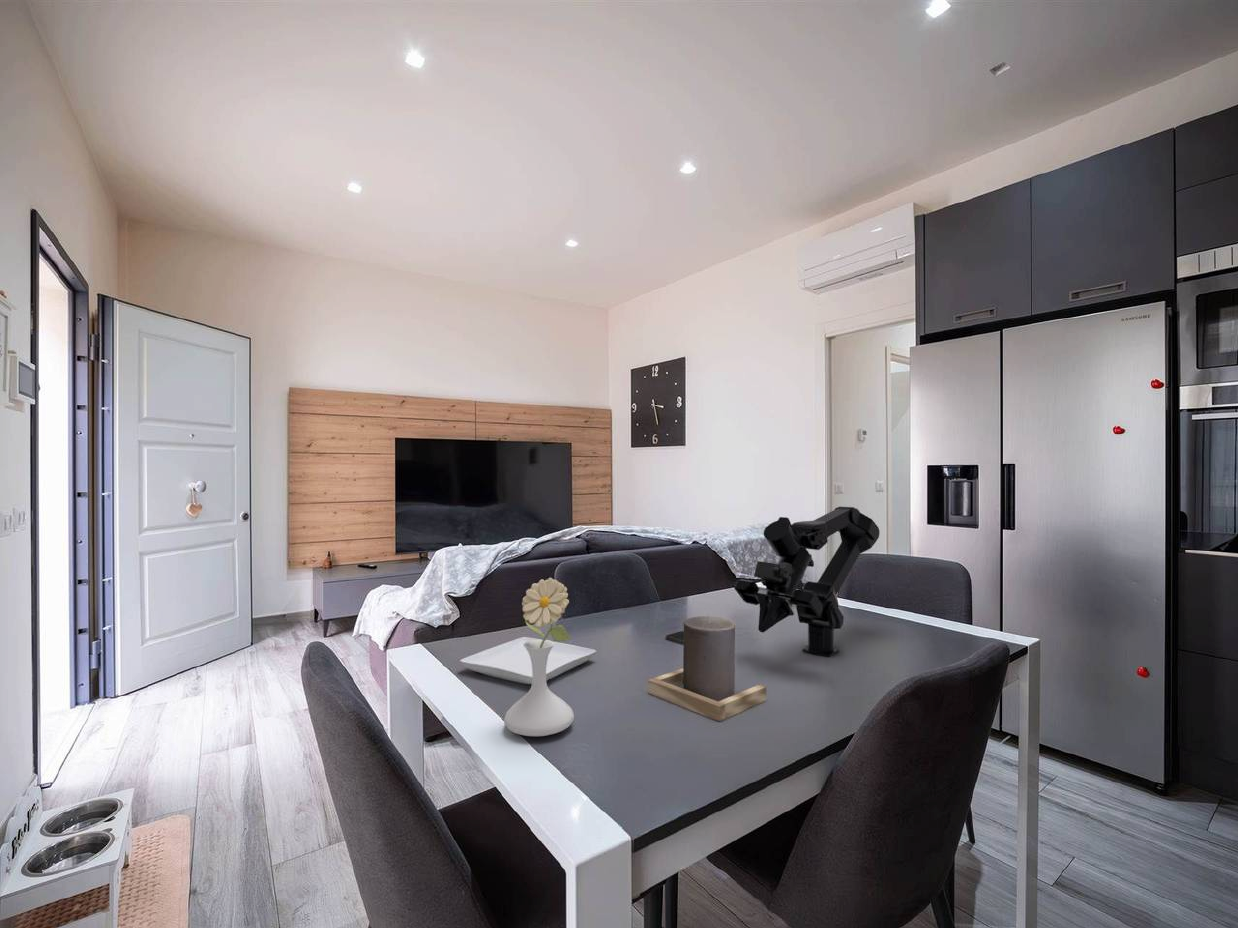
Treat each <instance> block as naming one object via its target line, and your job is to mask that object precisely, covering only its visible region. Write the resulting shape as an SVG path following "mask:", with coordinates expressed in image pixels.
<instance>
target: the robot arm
mask: <svg viewBox="0 0 1238 928" xmlns="http://www.w3.org/2000/svg"><path fill="white" fill-rule="evenodd" d="M837 532H838V533H839V535H840V536H839V537H840V540H841V542H840V545H839V546H838V548H836V549H837V550H836V551H835V552H834V554H833V556H832V558H830V561H829V562H828V564H827V566H826V567H825V569H824V571H823V572H822V574H821V576H820V577H819V579H818V580H817V582H815V581H807V582H806V583H805V584H804V582H803V580H802V579H803V576H804V575H805V572H806V571H807V568H808V567H809V568H810V567H811V568H813V567H814V566H815V562H814V560H813V557H812V554H811V553H809V551H808V550H812V551H820V550H821V549H823V548H824V547H825V545H827V544H828V542H829V541H828V540H829V539H828V537H830V536H832V535H834V534H835V533H837ZM763 537H764V538H765V540H766V541H767V543H768V544H769V546H770V548H771V549H772V551H773V552H774V554H775V555H776V556H778V557H780V559H779V561H778V563H773V562H768V561H767V562H765V561H758V560H757V563H756V566H755V570H754V573H753V576H754V577H756V578H759V579H761V582H760V583H761V584H762V585H763V587H762V586H759V585H758V584H757V583H756V581H754V580H749V579H743V578H740V579H738V580H737V581H736V583H735V585H734V587H733V589H734V590H735V591H736V592H737V594H738V595H739V597H740V598H741V600H742V601H743V602H744V603H746V604H749V605H753V606H757V605H759V616H758V628H757V629H758V631H759V633H763V634H764V633H766V631H768V630H769V629H771V628H772V627H774V626H775V625H776V624H777V623H779V622H781V621H783V620H784V619H786V618H788V617H790V616H794V615H795V612H794V610H795V608H796V613H797V617H798V622H799V623H801V624H807V646H805V647H803V648H802V650H801V651H802V652H803V653H804V652H805V653H808V654H809V653H810V654H813V655H814V654H815V655H819V656H825V657H832V656H834V654H836V653H838V651H840V648H839V647H835V630H836V629H837V630H839V629H840V630H841V629H842V627H843V625H844V621H845V619H844V618H845V617H844V614H843V613H842V611H841V610H840V609H839V607H840V606H839V599H838V596H837V595H838V593H839V591H840V589H841V588H842V586H843V585H844V582H845V581H846V580H847V579H846V578H848V576H849V574H850V572H851V571H852V569H853V566H854V565H855V563H856V562H857V560H858V558H859V556H860V555H861V554H862V553H864V552H866V551H869V550H871V549H872V548H873V546H874V545H875V544H876V542H877V541H878V540H879V537H880V529H879V526H878V525H877V524H876V522H875V521H874V520H873V518H871V517H869V516H867V515H865V514H864V513H861V512H860V510H859V509H858V508H857V507H854V506H837V507H835V508H834V509H833V510H831V511H830V512H827V513H826V514H824V515H822V516H820V517H817V518H816V519H813V520H806V521H805V520H803V521H796V522H793V523H791V520H790V518H789V517H783V516H780V517H778V519H777V520H775V521H773V522H771V523H769V524H768V525H767V526H766V527H764V530H763ZM802 587H803V588H802Z"/></svg>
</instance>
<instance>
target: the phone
mask: <svg viewBox="0 0 1238 928" xmlns="http://www.w3.org/2000/svg"><path fill="white" fill-rule="evenodd" d="M665 640H666V641H668V642H672V643H676V644H679V645H682V646H684V630H681V631H678V632H674V633H671V634H666V635H665Z"/></svg>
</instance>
